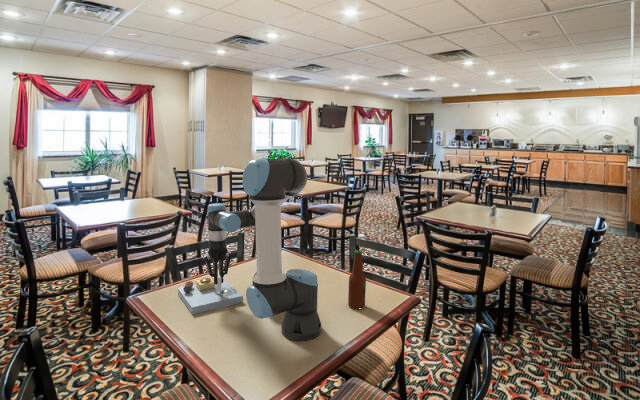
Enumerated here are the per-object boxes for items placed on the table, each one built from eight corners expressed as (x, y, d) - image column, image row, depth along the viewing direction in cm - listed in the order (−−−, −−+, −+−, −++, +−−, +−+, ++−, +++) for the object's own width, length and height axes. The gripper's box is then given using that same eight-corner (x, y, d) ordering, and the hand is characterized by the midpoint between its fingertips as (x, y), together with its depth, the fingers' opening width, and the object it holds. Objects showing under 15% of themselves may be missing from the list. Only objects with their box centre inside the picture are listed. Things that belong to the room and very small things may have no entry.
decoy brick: (194, 288, 170) (194, 281, 169) (186, 290, 168) (186, 282, 167) (192, 285, 173) (191, 278, 172) (184, 287, 171) (184, 280, 170)
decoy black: (192, 293, 165) (192, 285, 164) (184, 294, 163) (184, 287, 162) (190, 290, 168) (190, 283, 167) (182, 292, 166) (182, 284, 165)
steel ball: (225, 300, 165) (232, 297, 167) (223, 293, 165) (231, 290, 166) (222, 297, 168) (229, 294, 170) (221, 290, 167) (228, 288, 169)
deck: (243, 302, 163) (242, 295, 163) (192, 314, 151) (191, 307, 151) (224, 284, 183) (224, 278, 182) (177, 294, 171) (177, 287, 170)
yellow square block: (215, 288, 170) (215, 280, 170) (200, 291, 166) (199, 283, 166) (210, 283, 176) (210, 276, 175) (195, 286, 172) (195, 278, 172)
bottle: (368, 308, 160) (370, 252, 156) (354, 311, 156) (356, 254, 152) (358, 301, 166) (360, 247, 162) (344, 305, 162) (346, 250, 158)
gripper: (228, 235, 168) (229, 284, 171) (199, 239, 161) (201, 290, 164) (234, 239, 162) (235, 290, 165) (205, 243, 154) (206, 296, 158)
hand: (218, 290), depth 165 cm, fingers closed
